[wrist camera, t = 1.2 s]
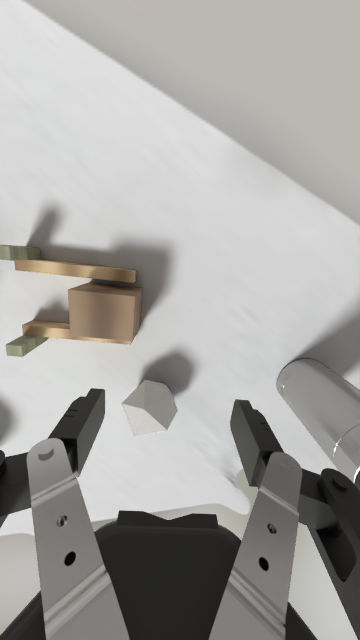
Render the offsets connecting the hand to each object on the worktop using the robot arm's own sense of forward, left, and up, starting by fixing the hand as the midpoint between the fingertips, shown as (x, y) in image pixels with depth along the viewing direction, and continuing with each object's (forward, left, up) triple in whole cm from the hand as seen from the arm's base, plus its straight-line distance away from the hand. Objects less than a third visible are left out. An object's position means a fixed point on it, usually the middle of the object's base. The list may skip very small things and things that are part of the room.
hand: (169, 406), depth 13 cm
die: (+2, +16, -22) cm, 27 cm away
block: (+9, 0, -22) cm, 24 cm away
